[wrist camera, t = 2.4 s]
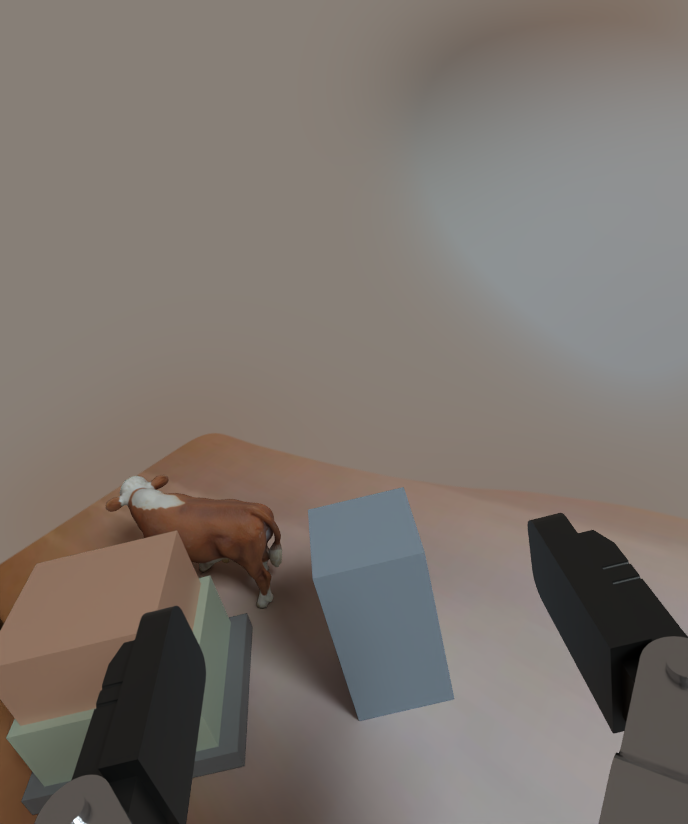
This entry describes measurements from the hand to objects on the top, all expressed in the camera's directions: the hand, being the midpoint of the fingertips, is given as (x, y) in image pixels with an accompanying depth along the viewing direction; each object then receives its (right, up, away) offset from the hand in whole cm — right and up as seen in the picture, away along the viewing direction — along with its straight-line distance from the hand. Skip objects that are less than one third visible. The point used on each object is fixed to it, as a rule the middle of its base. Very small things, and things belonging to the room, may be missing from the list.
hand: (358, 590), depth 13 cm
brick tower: (-11, -13, +20) cm, 26 cm away
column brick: (+3, -10, +19) cm, 22 cm away
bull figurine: (-9, -8, +29) cm, 32 cm away
